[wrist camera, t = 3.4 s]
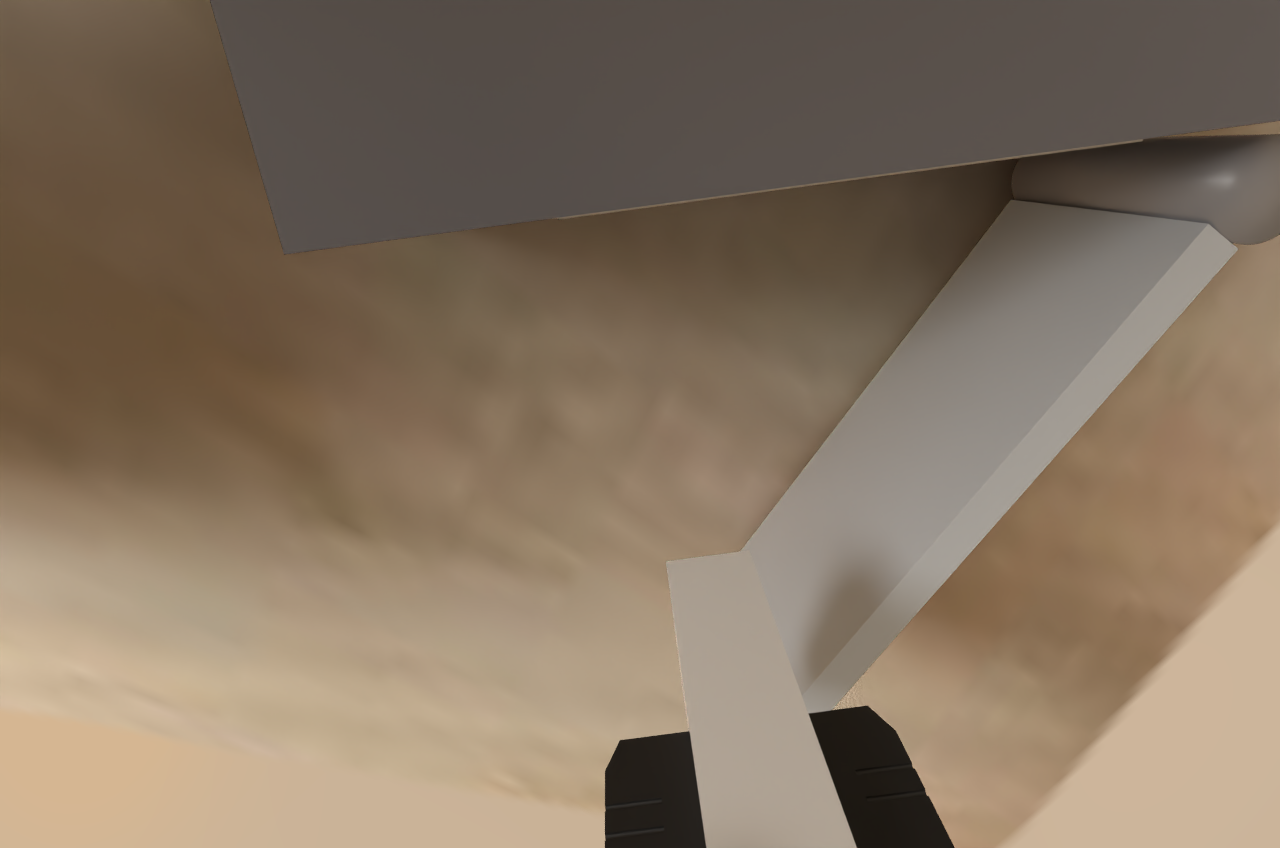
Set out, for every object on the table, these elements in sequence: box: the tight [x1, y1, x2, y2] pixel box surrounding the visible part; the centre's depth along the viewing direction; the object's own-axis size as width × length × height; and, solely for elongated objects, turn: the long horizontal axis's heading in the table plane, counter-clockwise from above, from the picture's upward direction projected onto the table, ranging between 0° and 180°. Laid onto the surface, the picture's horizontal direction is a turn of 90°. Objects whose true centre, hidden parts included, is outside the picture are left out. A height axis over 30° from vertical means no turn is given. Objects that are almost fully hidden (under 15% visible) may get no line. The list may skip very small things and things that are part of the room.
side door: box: [741, 134, 1280, 713], centre depth 17 cm, size 14×2×6 cm, turn 147°
